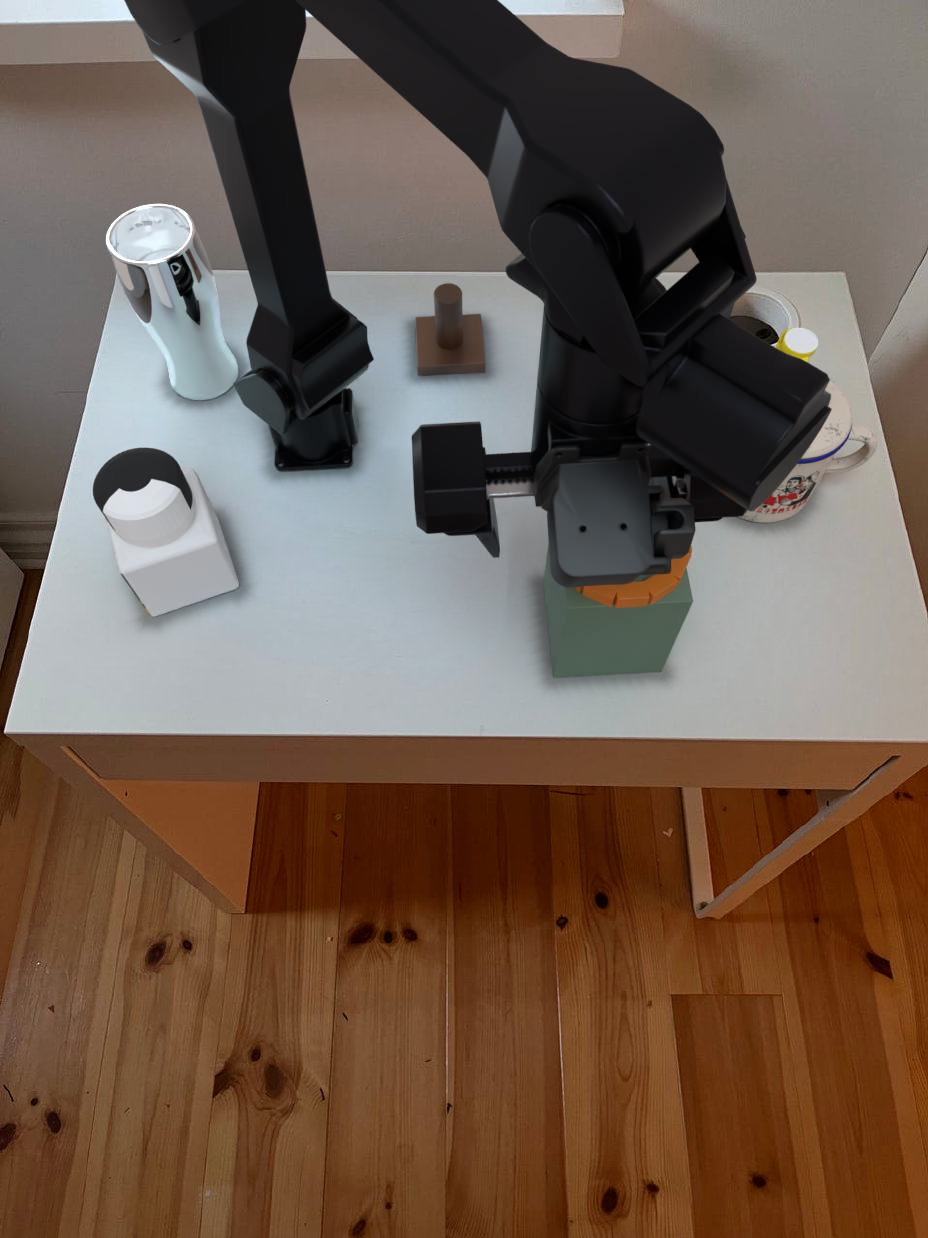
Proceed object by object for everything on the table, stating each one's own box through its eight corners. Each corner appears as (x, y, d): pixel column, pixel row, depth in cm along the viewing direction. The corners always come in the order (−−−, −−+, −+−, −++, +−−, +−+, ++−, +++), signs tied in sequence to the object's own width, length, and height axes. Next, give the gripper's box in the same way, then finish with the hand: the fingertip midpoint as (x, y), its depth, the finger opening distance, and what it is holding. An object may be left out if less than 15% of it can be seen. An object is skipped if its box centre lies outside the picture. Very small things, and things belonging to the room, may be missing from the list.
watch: (761, 361, 80) (781, 310, 74) (792, 363, 80) (815, 312, 74) (765, 414, 77) (786, 365, 72) (798, 416, 77) (822, 367, 71)
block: (553, 678, 66) (566, 608, 56) (543, 584, 70) (553, 502, 60) (661, 672, 66) (693, 601, 56) (645, 578, 70) (672, 496, 60)
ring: (564, 611, 56) (565, 602, 55) (550, 500, 60) (551, 490, 59) (697, 603, 56) (701, 594, 55) (675, 493, 60) (678, 483, 59)
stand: (417, 376, 79) (413, 321, 74) (415, 326, 82) (411, 269, 76) (485, 372, 79) (486, 317, 74) (480, 323, 82) (481, 265, 76)
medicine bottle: (131, 546, 72) (71, 453, 61) (218, 518, 73) (173, 421, 62) (151, 619, 69) (91, 535, 58) (241, 589, 70) (198, 500, 59)
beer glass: (251, 347, 81) (206, 203, 68) (234, 407, 78) (184, 268, 65) (176, 343, 82) (117, 198, 68) (156, 402, 78) (91, 263, 65)
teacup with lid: (701, 522, 72) (739, 428, 62) (701, 432, 76) (736, 331, 66) (854, 535, 71) (918, 443, 61) (844, 444, 75) (903, 343, 65)
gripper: (409, 528, 40) (426, 670, 54) (826, 505, 40) (735, 652, 54) (403, 341, 45) (420, 515, 59) (772, 322, 45) (702, 500, 59)
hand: (567, 547), depth 57 cm, fingers open, 9 cm apart
